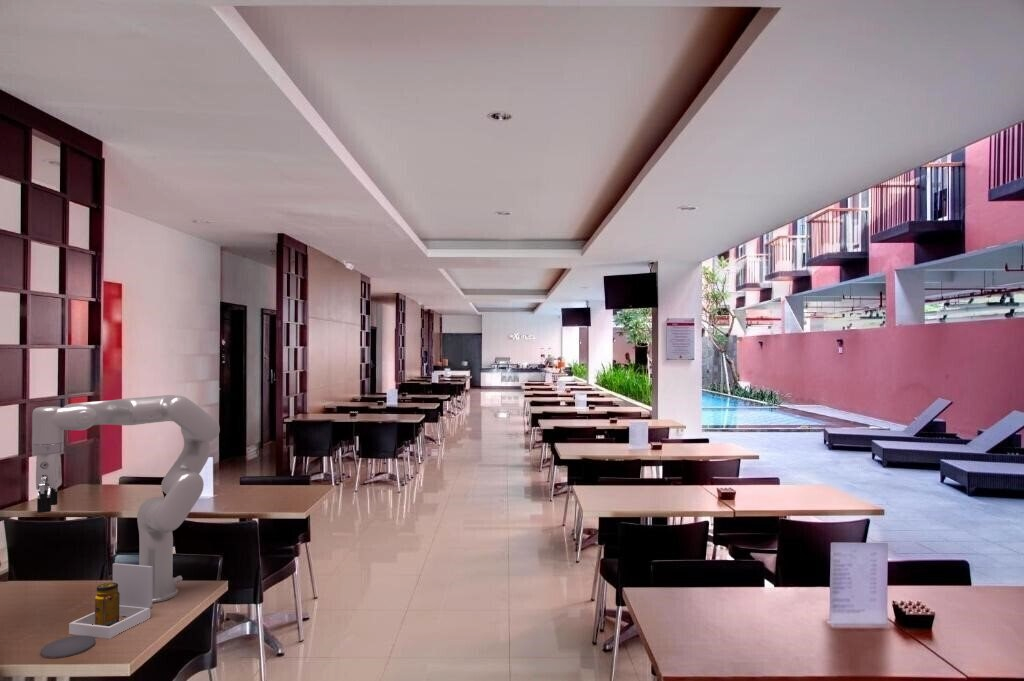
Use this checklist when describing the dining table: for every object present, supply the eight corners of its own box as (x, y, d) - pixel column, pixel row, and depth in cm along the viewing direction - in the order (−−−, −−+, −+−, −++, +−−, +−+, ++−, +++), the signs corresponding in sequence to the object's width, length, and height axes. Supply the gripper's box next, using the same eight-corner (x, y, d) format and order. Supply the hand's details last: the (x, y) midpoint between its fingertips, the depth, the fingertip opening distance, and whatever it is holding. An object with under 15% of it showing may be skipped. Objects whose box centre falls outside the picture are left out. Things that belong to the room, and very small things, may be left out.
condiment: (89, 627, 190) (90, 585, 190) (122, 618, 196) (122, 577, 196) (98, 634, 185) (99, 591, 185) (131, 624, 191) (132, 583, 192)
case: (114, 613, 200) (115, 563, 200) (152, 617, 197) (152, 566, 197) (69, 634, 185) (69, 580, 185) (109, 638, 182) (109, 583, 182)
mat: (70, 636, 183) (70, 633, 183) (106, 640, 180) (106, 637, 180) (29, 655, 172) (29, 652, 172) (66, 660, 169) (66, 657, 169)
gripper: (58, 452, 186) (57, 513, 186) (68, 444, 202) (68, 501, 201) (25, 454, 183) (25, 516, 183) (38, 446, 199) (38, 503, 198)
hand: (47, 508), depth 192 cm, fingers open, 9 cm apart
